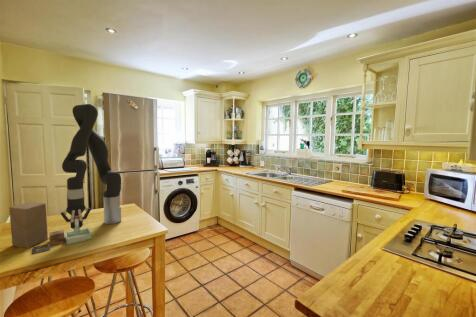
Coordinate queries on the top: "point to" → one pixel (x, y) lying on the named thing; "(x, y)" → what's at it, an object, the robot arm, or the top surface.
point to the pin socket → (41, 249)
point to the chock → (56, 237)
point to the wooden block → (28, 224)
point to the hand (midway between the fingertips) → (76, 227)
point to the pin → (76, 224)
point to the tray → (78, 236)
